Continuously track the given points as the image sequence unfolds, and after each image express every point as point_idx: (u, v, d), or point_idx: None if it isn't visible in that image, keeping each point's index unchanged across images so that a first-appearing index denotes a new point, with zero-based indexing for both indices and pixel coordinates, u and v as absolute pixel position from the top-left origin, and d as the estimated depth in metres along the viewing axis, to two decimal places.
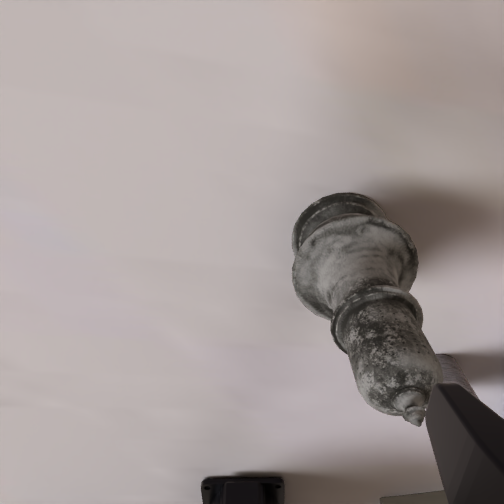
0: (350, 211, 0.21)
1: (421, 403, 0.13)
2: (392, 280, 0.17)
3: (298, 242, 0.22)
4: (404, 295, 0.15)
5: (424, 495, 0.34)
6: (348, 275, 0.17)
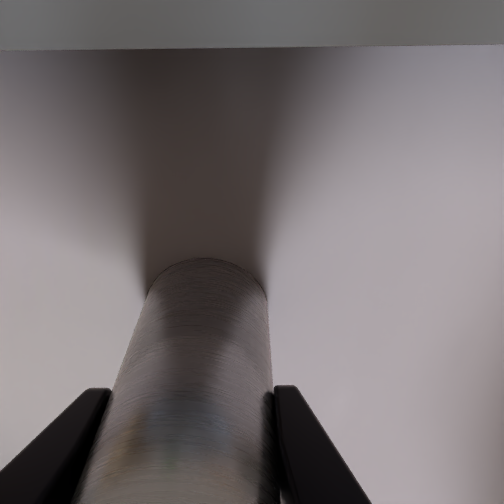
0: None
1: None
2: None
3: None
4: None
5: None
6: None
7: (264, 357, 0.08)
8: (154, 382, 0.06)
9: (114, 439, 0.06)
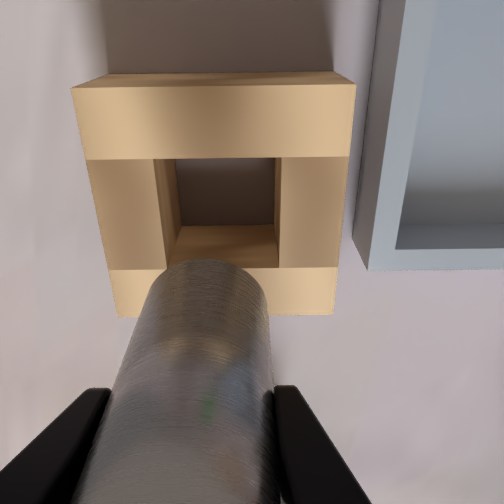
0: None
1: None
2: None
3: None
4: None
5: None
6: None
7: (264, 358, 0.08)
8: (153, 383, 0.06)
9: (113, 441, 0.06)
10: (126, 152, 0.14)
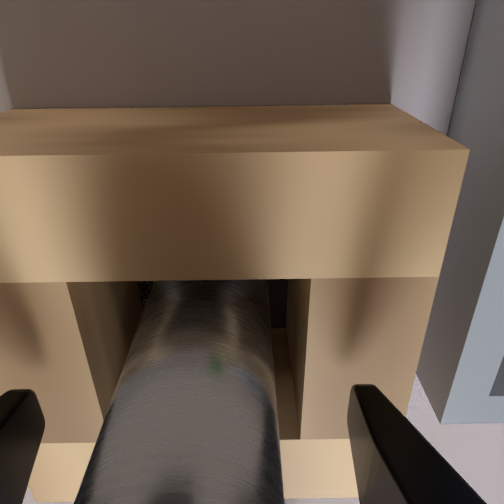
0: None
1: None
2: None
3: None
4: None
5: None
6: None
7: (263, 296, 0.10)
8: (176, 304, 0.08)
9: (148, 342, 0.07)
10: (14, 271, 0.07)
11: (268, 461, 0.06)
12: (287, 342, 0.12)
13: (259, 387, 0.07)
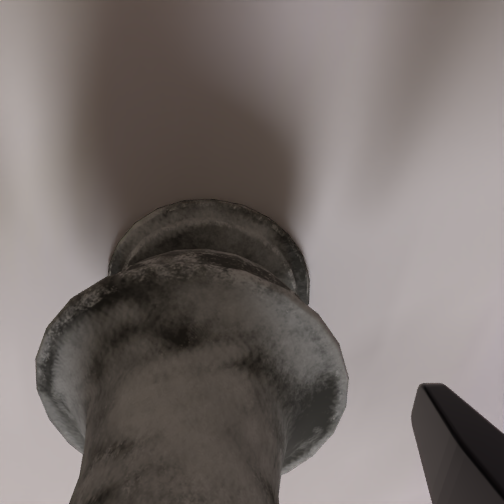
0: None
1: None
2: None
3: None
4: None
5: None
6: None
7: None
8: None
9: None
10: None
11: None
12: None
13: None
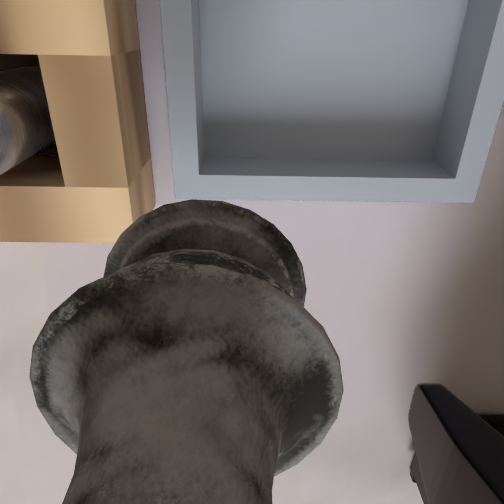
0: None
1: None
2: None
3: None
4: None
5: None
6: None
7: (44, 97, 0.15)
8: None
9: None
10: None
11: None
12: None
13: None
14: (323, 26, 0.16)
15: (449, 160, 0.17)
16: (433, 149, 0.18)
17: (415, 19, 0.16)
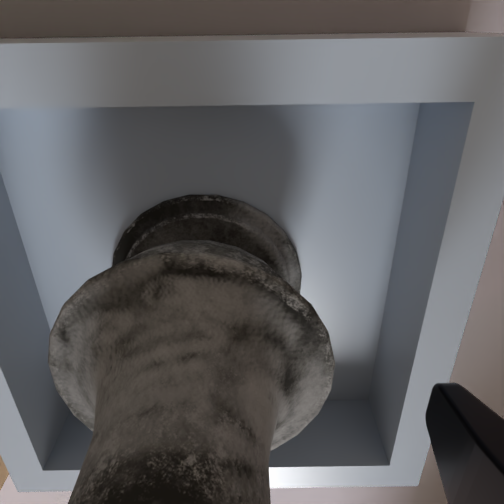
0: (197, 231, 0.10)
1: None
2: (204, 444, 0.06)
3: None
4: None
5: None
6: (98, 436, 0.06)
7: None
8: None
9: None
10: None
11: None
12: None
13: None
14: None
15: (383, 429, 0.13)
16: (369, 389, 0.14)
17: (325, 263, 0.12)
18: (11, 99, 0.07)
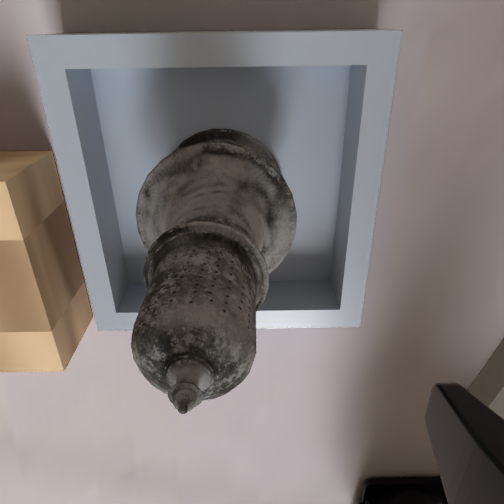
0: None
1: (211, 378, 0.09)
2: (226, 217, 0.12)
3: None
4: (222, 231, 0.11)
5: None
6: (173, 223, 0.13)
7: None
8: None
9: None
10: None
11: None
12: None
13: None
14: None
15: (337, 290, 0.19)
16: (330, 272, 0.20)
17: (298, 176, 0.18)
18: (126, 63, 0.14)
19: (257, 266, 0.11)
